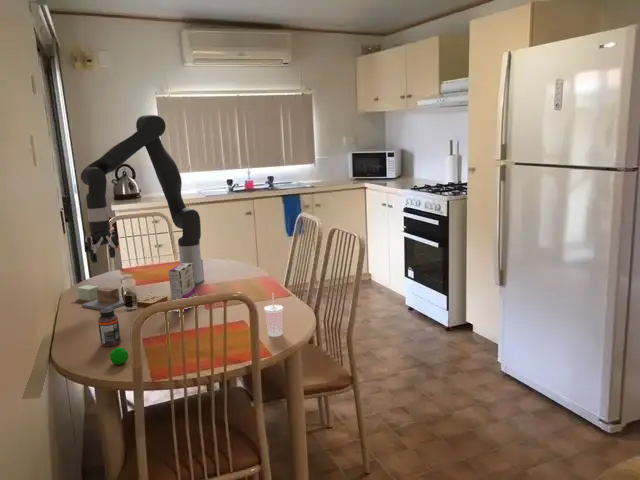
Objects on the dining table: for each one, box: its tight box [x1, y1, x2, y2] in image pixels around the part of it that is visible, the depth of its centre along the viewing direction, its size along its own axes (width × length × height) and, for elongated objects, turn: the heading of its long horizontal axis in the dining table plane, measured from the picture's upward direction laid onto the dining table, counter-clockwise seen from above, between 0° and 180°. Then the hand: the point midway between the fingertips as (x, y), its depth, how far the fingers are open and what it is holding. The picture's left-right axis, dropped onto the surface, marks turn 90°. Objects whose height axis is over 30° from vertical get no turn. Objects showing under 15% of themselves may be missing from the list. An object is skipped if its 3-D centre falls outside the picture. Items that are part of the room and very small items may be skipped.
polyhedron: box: [109, 347, 129, 366], centre depth 155 cm, size 5×5×5 cm
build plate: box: [81, 295, 124, 311], centre depth 213 cm, size 14×14×1 cm
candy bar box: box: [168, 263, 197, 313], centre depth 202 cm, size 11×5×16 cm, turn 168°
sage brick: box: [77, 284, 99, 302], centre depth 220 cm, size 4×7×5 cm, turn 61°
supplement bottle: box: [97, 308, 122, 347], centre depth 169 cm, size 6×6×11 cm
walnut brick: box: [97, 286, 120, 304], centre depth 212 cm, size 4×7×5 cm, turn 64°
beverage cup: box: [263, 292, 284, 338], centre depth 172 cm, size 6×6×14 cm
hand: (103, 259), depth 209 cm, fingers open, 8 cm apart
